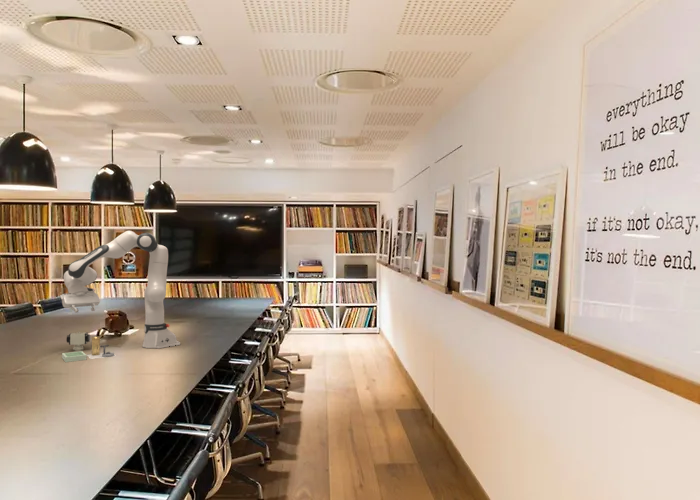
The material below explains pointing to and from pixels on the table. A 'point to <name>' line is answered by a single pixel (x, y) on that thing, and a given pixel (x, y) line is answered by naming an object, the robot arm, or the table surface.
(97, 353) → the amber drinking glass
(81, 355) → the tray
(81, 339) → the pneumatic valve
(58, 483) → the table surface
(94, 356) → the crank jig
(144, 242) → the robot arm
